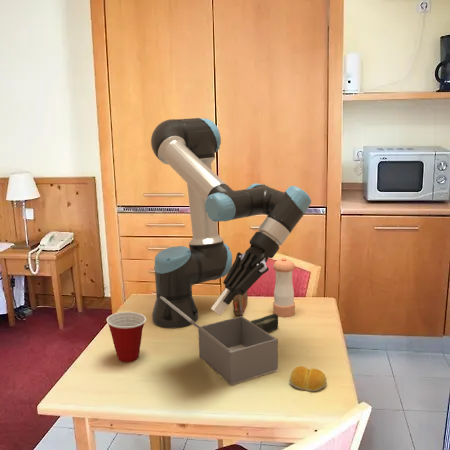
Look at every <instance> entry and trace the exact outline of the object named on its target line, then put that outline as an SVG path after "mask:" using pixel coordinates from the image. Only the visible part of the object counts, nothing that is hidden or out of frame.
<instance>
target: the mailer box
mask: <svg viewBox="0 0 450 450" xmlns="http://www.w3.org/2000/svg"><path fill="white" fill-rule="evenodd" d="M250 321H251V320H249V319H247V318H246V317H244V315H239V316H237V317H233V318H229V319H223V320H221V321H216V322H213V323H212V322H211V323H210V324H209V323H208V324H204V325H201V326H200V325H199V326H200V327H201V328H203V329H204V330H205V331H206V332H208V333H209V334H210V335H211V336H213V337H214V338H215V339H216V340H218V341H219V342H220V343H221V344H223V345H224V346H225V347H226V348H228V350H230V351H229V353H228V352H227V351H226V350H224V349H223V348H222V347H221V346H219V345H218V344H217V343H216V342H214V341H213V340H212V339H211V338H209V337H208V336H207V335H205V334H204V333H203V332H202V331H200V330H199V329H198V328H197V329H198V353H199V358H200V359H201V360H202V361H203V362H204V363H206V365H208V366H209V367H210V369H212V370H213V371H214V372H216V374H218V376H220V377H221V378H222V379H223V380H224V381H225V382H226V383H228V385H230V386H231V387H232V386H236V385H239V384H242V383H245V382H247V381H248V382H249V381H251V380H254V379H256V378H260V377H264V376H266V375H270V374H273V373H276V372H278V371H279V367H278V365H279V361H278V360H279V358H278V357H279V356H278V355H279V350H278V346H279V343H278V342H279V339H278V338H276V337H275V336H274V335H272V334H270V332H269V333H267V332H266V331H264V330H262V329H261V328H259V327H258V326H256V325H255V324H253V323H252V322H250Z"/></svg>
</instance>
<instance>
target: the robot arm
mask: <svg viewBox="0 0 450 450" xmlns="http://www.w3.org/2000/svg"><path fill="white" fill-rule="evenodd" d="M219 130H220V129H219V128H218V126H217V125H216V123H214V121H212V120H211V119H209V118H203V117H202V118H201V117H196V118H195V117H194V118H181V119H180V118H177V119H176V118H175V119H174V118H173V119H172V118H171V119H167V120H164V121H162V122H160V123H159V124H157V126H156V127H155V128H154V130H153V131H152V134H151V136H150V137H151V138H150V144H151V145H150V147H151V151H152V152H153V154H154V156H155V157H156V158H157V159H158V160H159V161H160V162H161V163H162V164H164V165H169V166H170V168H171V169H173V171H174V172H176V174H178V175H179V176H180V178H181V179H182V180H183V181H185V182H186V185H187V186H186V187H187V193H188V203H189V214H190V215H189V216H190V222H191V232H192V238H191V239H190V241H189V242H188V247H187V246H180V245H179V246H171V247H167V248H164V249H161V250H160V251H159V252H157V254H156V255H155V257H154V266H153V269H154V278H155V279H154V280H155V292H156V293H155V294H156V298H155V302H154V307H153V309H152V313H151V314H152V315H151V318H152V324H154V325H156V327H161V328H167V329H177V328H178V329H179V328H184V327H187V326H191V325H193V324H192V323H190V322H189V321H188V320H187V319H185V318H184V317H183V316H182V315H180V314H179V313H178V312H177V311H176V310H174V309H173V308H172V307H171V306H169V305H168V304H167V303H166V302H164V301H163V300H162V299H161V298H159V297H160V296H162V297H164V298H165V299H166V300H167V301H169V302H170V303H171V304H172V305H174V306H175V307H176V308H178V309H179V310H180V311H181V312H183V313H184V314H185V315H186V316H188V317H189V318H190V319H191V320H193V321H194V322H195V323H197V321H198V320H199V311H198V307H197V305H196V302H195V300H194V297H193V289H192V288H193V286H194V285H198V284H202V283H206V282H211V281H216V280H218V279H221V278H224V280H223V282H222V283H223V284H224V289H223V291H222V292H221V293H220V294H219V296H218V298H217V300H215V303H213V305H212V306H211V307H210V309H211V310H212V311H214V312H215V313H216V314H217V315H219V316H222V315H223V313H224V311H225V310H226V309H227V307H228V306H229V305H230V304H231V303H232V302H233V299H234V297H235V296H236V295H238V294H240V295H243V294H244V293H245V292H246V291H247V292H248V290H249V289H250V288H251V287H252V286H253V285H254V284H255V283H256V282H257V281H258V280H259V279H260V278H261V277H262V275H264V274H266V273H267V272H269V267H268V266H267V262H268V259H273V258H274V256H276V255H277V252H279V249H280V246H282V245H283V244H284V242H285V241H286V240H287V238H288V237H289V235H290V234H291V233H292V231H293V230H294V229H295V227H296V226H297V225H298V223H299V221H301V219H302V218H303V217H304V215H305V214H306V212H307V211H308V209H309V208H310V205H312V204H311V203H312V198H311V196H310V195H309V194H308V193H307V192H306V191H305V190H303V189H302V188H300V187H298V186H295V185H290V186H289V187H287V189H285V191H280V190H278V189H276V188H274V187H270V186H268V185H266V184H262V183H252V184H251V185H249V186H248V187H247V188H245V189H239V190H238V189H237V190H234V189H232V188H231V187H230V186H229V185H228V184H227V183H226V182H225V181H223V180H222V179H221V177H219V175H217V174H216V173H215V172H214V171H213V170H212V164H213V162H214V160H215V159H216V154H215V153H217V152H218V151H219V149H220V148H221V147H220V146H221V144H222V142H221V141H222V138H221V133H220V131H219ZM260 215H266V218H265V219H264V220H263V222H262V223H261V224H260V226H259V227H258V228H257V229H258V231H255V233H254V234H253V236H252V237H251V238H250V239H249V244H250V247H248V249H246V250H245V252H243V253H242V252H237V254H236V257H235V260H234V261H233V254H232V251H231V250H230V247H229V246H228V244H227V243H225V242H224V239H223V238H222V237H221V236H220V234H219V231H218V229H219V228H218V222H229V221H233V220H234V221H235V220H238V219H243V218H249V217H253V216H260Z"/></svg>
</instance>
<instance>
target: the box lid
mask: <svg viewBox="0 0 450 450" xmlns="http://www.w3.org/2000/svg"><path fill="white" fill-rule="evenodd" d="M159 298H161V299H162V300H163V301H164V302H166V303H167V304H168V305H169V306H171V307H172V308H173V309H174V310H176V311H177V312H178V313H179V314H180V315H182V316H183V317H184V318H185V319H187V320H188V321H189V322H190V323H192V324H191V325H193V326H194V327H196V329H199V330H200V331H202V332H203V333H204V334H205V335H207V336H208V337H209V338H211V339H212V340H213V341H214V342H216V343H217V344H218V345H219V346H221V347H222V348H223V349H224V350H226V351H227V352H228V353H229V351H230V350H228V348H226V347H225V346H224V345H223V344H221V343H220V342H219V341H218V340H216V339H215V338H214V337H213V336H211V335H210V334H209V333H208V332H206V331H205V330H204V329H203V328H201V327H200V325H199V324H198V323H197V322H194V321H193V320H191V319H190V318H189V317H188V316H186V315H185V314H184V313H183V312H181V311H180V310H179V309H178V308H176V307H175V306H174V305H172V304H171V303H170V302H169V301H167V300H166V299H165V298H164V297H162V296H160V297H159Z"/></svg>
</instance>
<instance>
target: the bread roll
mask: <svg viewBox="0 0 450 450" xmlns="http://www.w3.org/2000/svg"><path fill="white" fill-rule="evenodd" d="M288 379H289V380H288V382H289V384H290V386H292V387H293V388H295V389H297V390H301V391H305V390H306V391H307V392H317V391H320V390H322V389H323V388H325V387H326V386H327V377H326V374H325V373H324V372H323V371H322V370H320V369H318V368H310V369H308V368H307V367H306V366H302V365H300V366H297V367H295V368H294V369H293V370H292V371H291V373H290V376H289V378H288Z"/></svg>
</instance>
